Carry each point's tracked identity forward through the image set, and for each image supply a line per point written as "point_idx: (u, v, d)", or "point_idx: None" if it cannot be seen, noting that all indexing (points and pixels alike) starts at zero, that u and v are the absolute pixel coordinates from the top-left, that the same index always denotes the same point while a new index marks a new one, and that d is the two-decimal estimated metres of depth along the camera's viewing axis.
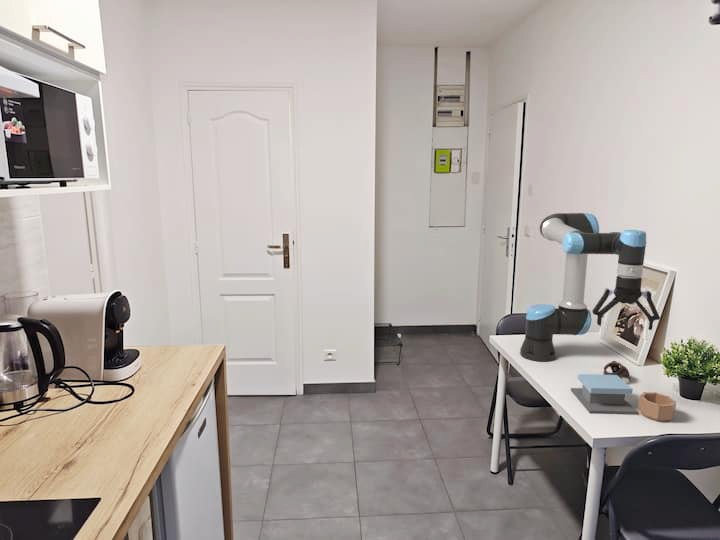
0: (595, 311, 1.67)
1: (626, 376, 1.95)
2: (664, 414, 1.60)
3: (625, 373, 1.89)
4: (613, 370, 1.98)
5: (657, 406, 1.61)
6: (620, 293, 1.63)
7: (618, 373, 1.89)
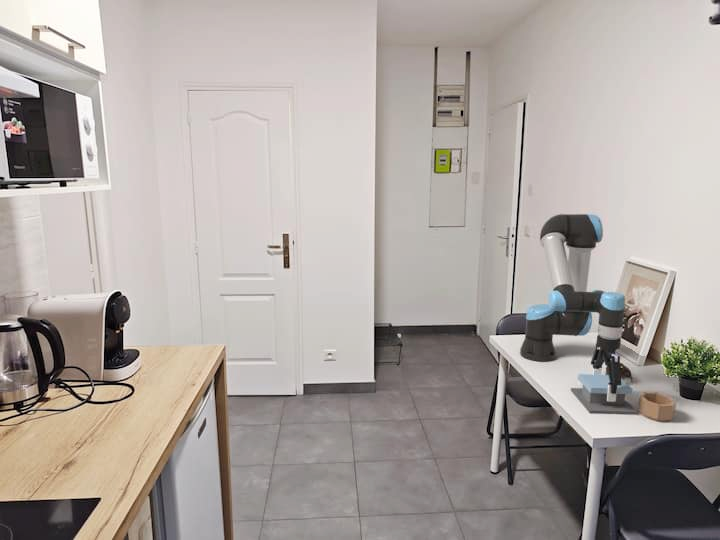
0: (591, 361, 1.82)
1: (628, 376, 1.94)
2: (664, 414, 1.60)
3: (627, 373, 1.89)
4: None
5: (657, 406, 1.61)
6: (601, 349, 1.74)
7: None
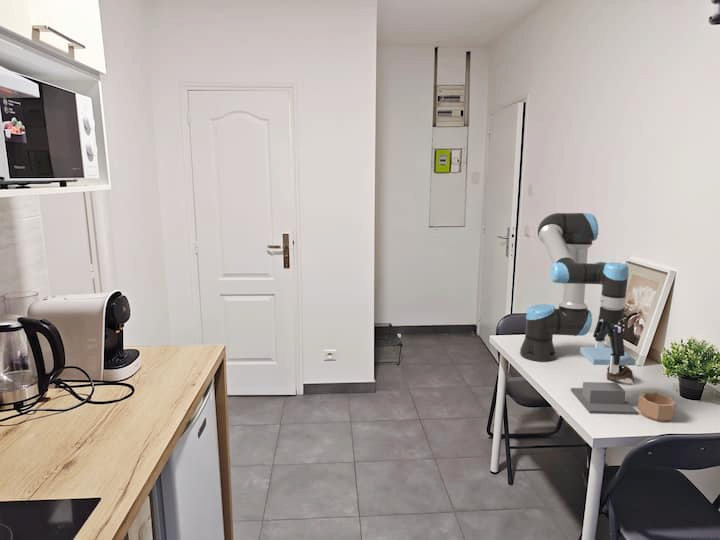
0: (594, 334, 1.80)
1: (629, 377, 1.94)
2: (664, 414, 1.60)
3: (629, 374, 1.89)
4: None
5: (657, 406, 1.61)
6: (604, 321, 1.72)
7: (622, 374, 1.89)
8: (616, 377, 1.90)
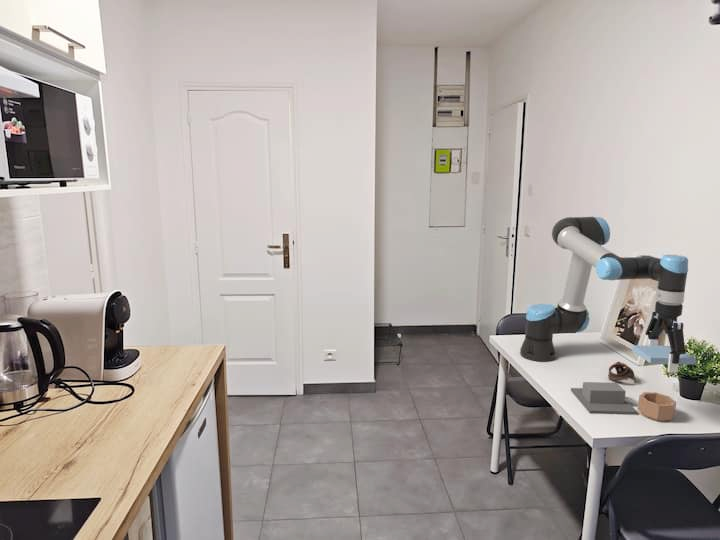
0: (646, 332, 1.70)
1: (631, 377, 1.94)
2: (664, 414, 1.60)
3: (630, 374, 1.89)
4: (618, 371, 1.97)
5: (657, 406, 1.61)
6: (659, 317, 1.62)
7: (624, 374, 1.88)
8: (618, 377, 1.89)
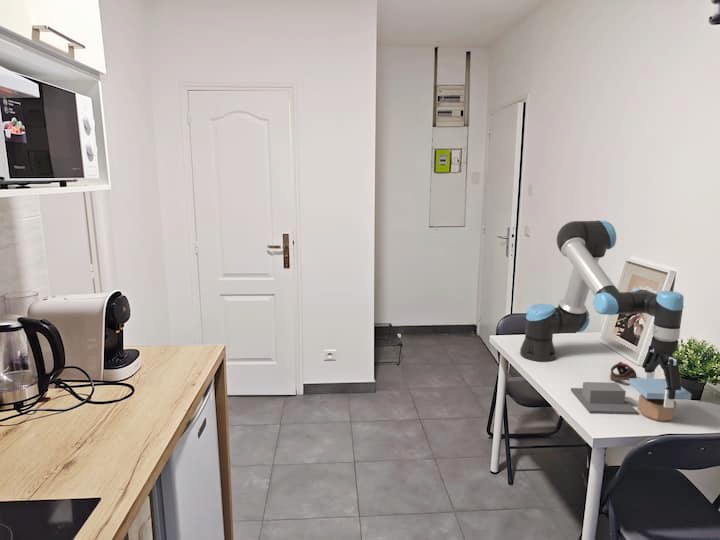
0: (643, 365, 1.72)
1: (633, 377, 1.94)
2: (664, 414, 1.60)
3: (633, 374, 1.88)
4: (620, 371, 1.96)
5: (657, 406, 1.61)
6: (656, 352, 1.64)
7: (626, 374, 1.88)
8: (620, 378, 1.89)
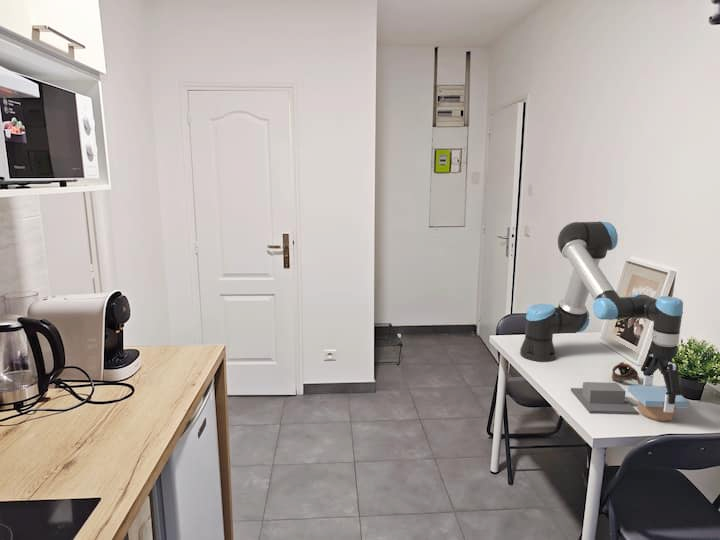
0: (642, 368, 1.73)
1: (634, 377, 1.93)
2: (664, 414, 1.60)
3: (634, 375, 1.88)
4: (622, 371, 1.96)
5: None
6: (655, 357, 1.64)
7: (628, 375, 1.88)
8: (622, 378, 1.89)
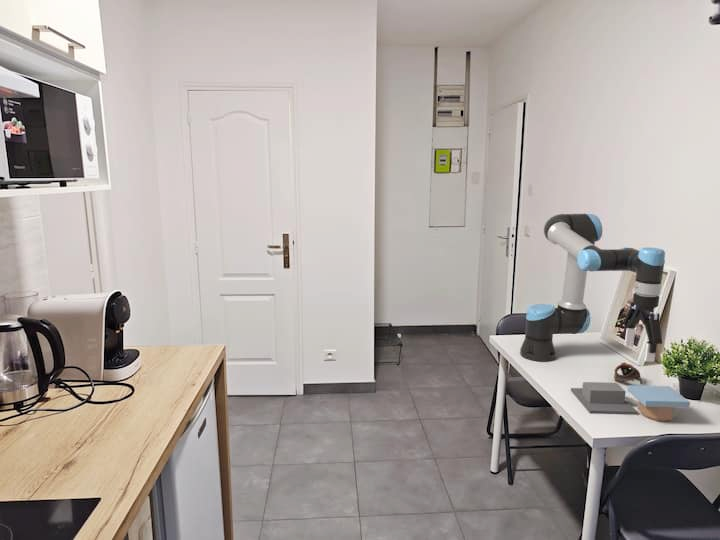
0: (624, 321, 1.74)
1: (637, 378, 1.93)
2: (664, 414, 1.60)
3: (637, 375, 1.88)
4: (624, 372, 1.96)
5: None
6: (637, 308, 1.66)
7: (630, 375, 1.87)
8: (624, 379, 1.88)
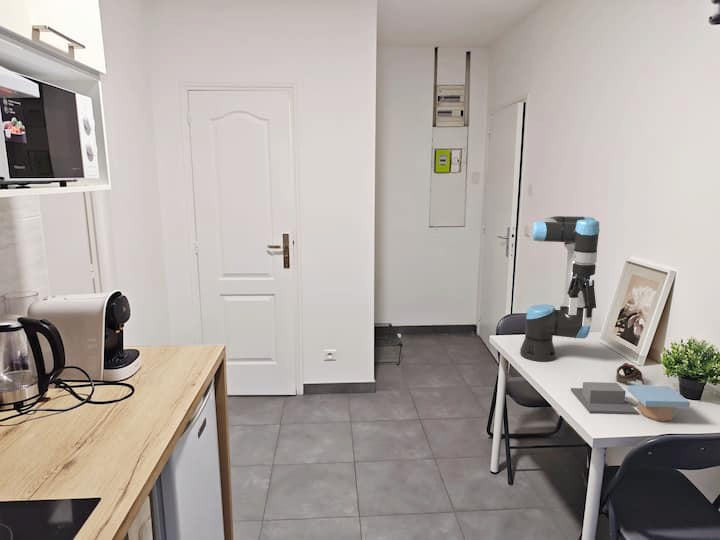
0: (568, 291, 1.85)
1: (639, 378, 1.93)
2: (664, 414, 1.60)
3: (639, 375, 1.87)
4: (626, 372, 1.95)
5: None
6: (577, 277, 1.77)
7: (632, 376, 1.87)
8: (626, 379, 1.88)
